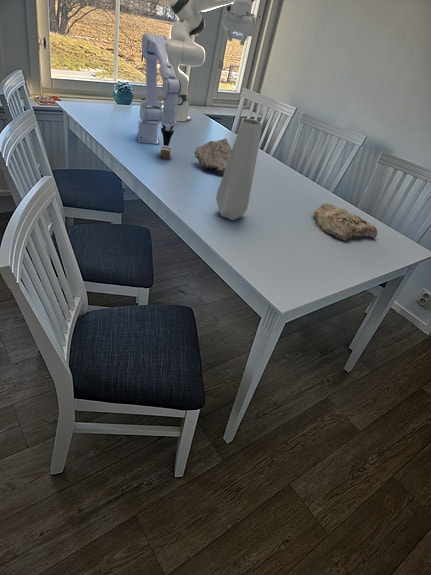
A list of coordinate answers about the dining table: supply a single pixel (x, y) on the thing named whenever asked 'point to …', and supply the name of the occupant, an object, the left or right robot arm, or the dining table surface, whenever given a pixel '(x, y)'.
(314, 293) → the dining table surface
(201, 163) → the rock
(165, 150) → the block
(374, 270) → the dining table surface
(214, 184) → the dining table surface
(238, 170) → the vase
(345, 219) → the stone
